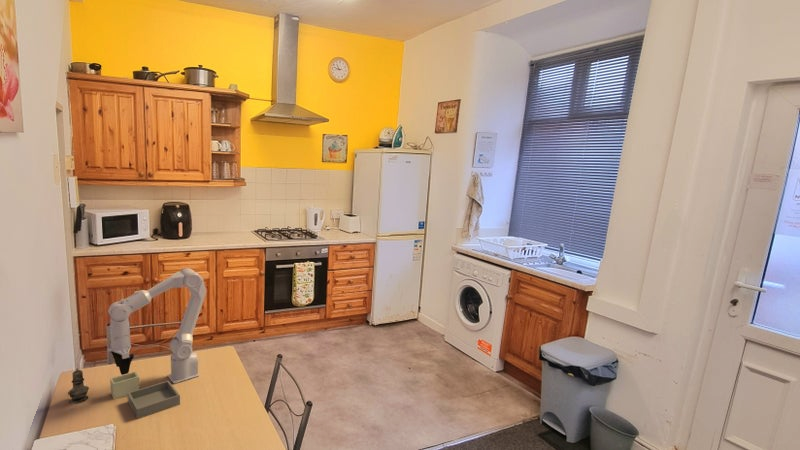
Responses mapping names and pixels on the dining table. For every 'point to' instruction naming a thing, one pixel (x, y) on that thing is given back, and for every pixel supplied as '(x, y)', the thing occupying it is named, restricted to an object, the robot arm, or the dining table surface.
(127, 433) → the dining table surface
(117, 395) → the small crate
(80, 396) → the dark ornate statuette
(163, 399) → the big crate
